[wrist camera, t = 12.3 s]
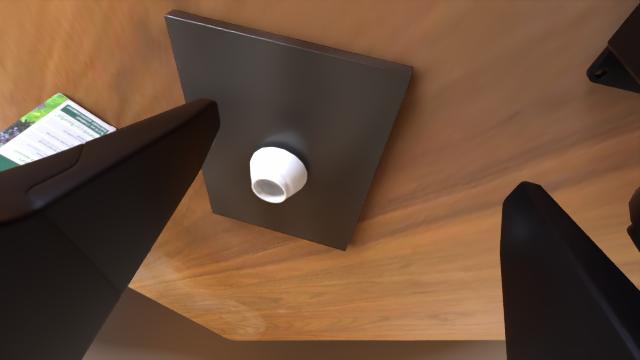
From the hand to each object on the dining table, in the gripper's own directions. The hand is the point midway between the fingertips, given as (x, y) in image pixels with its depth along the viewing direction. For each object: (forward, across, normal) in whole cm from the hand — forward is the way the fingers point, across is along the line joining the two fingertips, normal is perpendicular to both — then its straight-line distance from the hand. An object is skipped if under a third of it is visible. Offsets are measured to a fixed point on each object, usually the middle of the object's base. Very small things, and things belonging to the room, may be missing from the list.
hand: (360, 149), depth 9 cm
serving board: (+12, +6, +14) cm, 19 cm away
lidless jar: (+11, +6, +14) cm, 19 cm away
